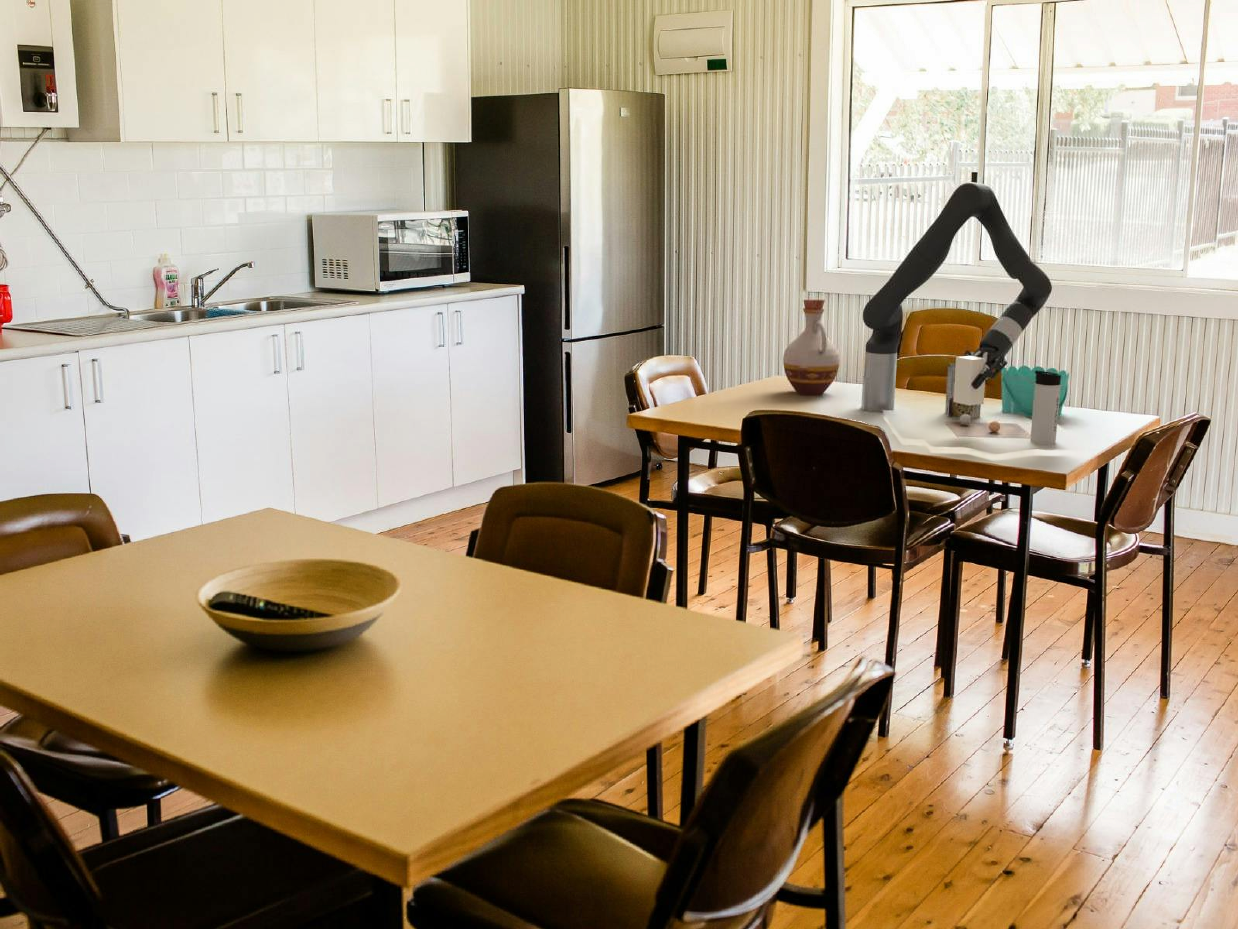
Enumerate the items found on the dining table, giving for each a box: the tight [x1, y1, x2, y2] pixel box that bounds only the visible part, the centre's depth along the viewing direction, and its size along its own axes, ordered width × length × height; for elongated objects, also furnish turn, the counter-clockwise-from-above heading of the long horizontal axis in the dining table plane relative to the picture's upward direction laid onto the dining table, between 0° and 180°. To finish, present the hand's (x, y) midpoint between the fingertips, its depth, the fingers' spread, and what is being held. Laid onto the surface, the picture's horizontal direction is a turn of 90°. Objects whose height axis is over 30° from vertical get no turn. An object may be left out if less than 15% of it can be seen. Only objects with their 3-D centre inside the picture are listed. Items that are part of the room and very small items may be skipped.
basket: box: [1000, 365, 1070, 419], centre depth 382 cm, size 19×18×13 cm
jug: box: [782, 298, 841, 396], centre depth 409 cm, size 20×18×30 cm
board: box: [943, 421, 1031, 439], centre depth 351 cm, size 20×20×2 cm
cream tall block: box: [953, 355, 987, 405], centre depth 342 cm, size 5×6×12 cm
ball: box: [989, 420, 1000, 432], centre depth 347 cm, size 3×3×3 cm
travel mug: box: [1029, 370, 1061, 445], centre depth 335 cm, size 6×7×20 cm
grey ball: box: [959, 414, 972, 425], centre depth 357 cm, size 3×3×3 cm
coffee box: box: [944, 362, 982, 419], centre depth 370 cm, size 9×6×16 cm
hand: (964, 385), depth 342 cm, fingers closed on cream tall block, 6 cm apart
